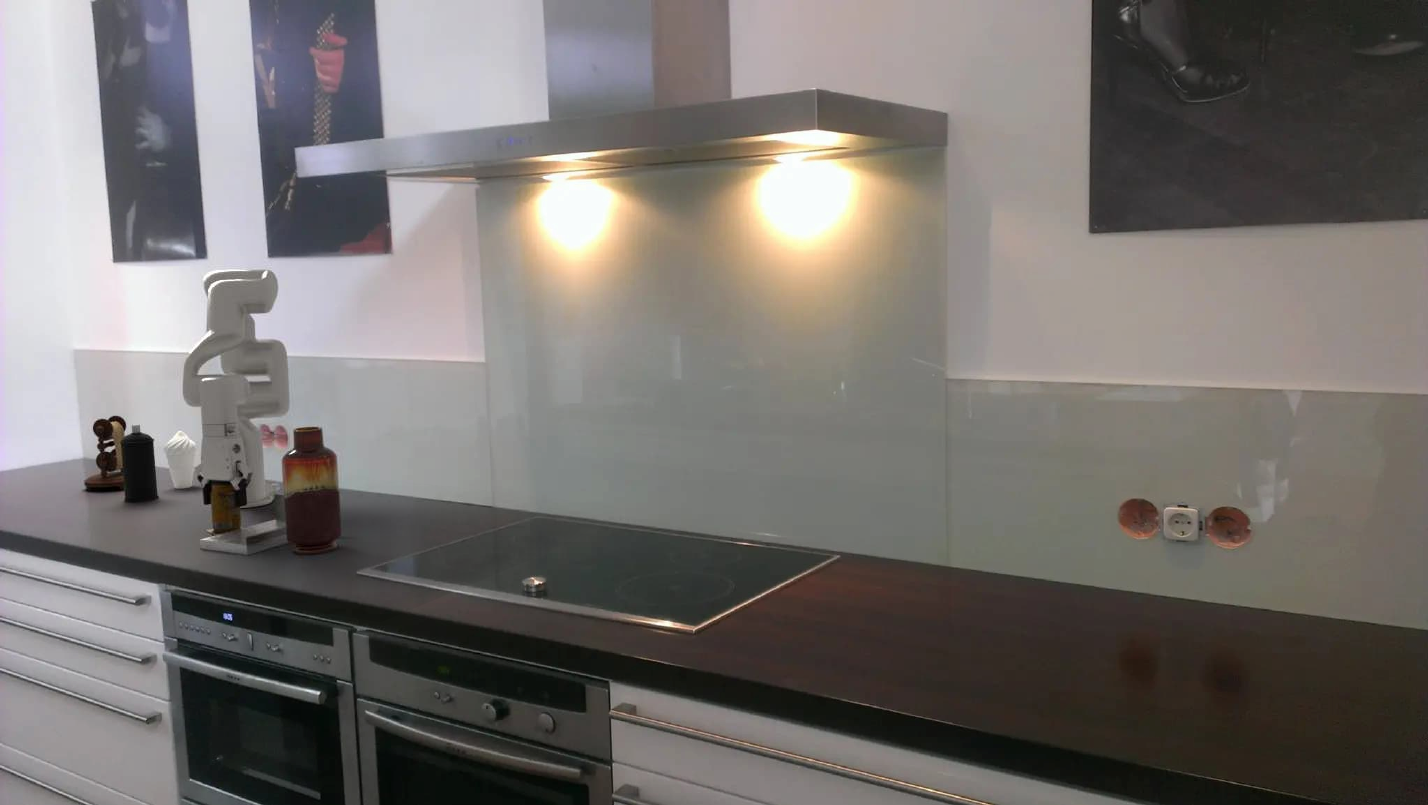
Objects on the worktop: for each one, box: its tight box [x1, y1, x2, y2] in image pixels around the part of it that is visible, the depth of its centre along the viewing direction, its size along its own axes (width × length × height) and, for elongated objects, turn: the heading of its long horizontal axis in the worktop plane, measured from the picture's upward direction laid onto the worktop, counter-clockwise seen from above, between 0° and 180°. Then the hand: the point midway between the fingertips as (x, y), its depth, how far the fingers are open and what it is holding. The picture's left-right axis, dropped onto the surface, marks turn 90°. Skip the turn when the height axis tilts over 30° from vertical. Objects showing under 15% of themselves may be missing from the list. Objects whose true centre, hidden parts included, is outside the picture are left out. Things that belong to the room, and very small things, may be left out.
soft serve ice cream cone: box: [163, 430, 198, 490], centre depth 305 cm, size 8×8×16 cm
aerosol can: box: [119, 423, 160, 503], centre depth 289 cm, size 8×8×20 cm
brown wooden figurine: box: [83, 415, 127, 491], centre depth 307 cm, size 15×15×20 cm
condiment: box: [206, 480, 243, 536], centre depth 251 cm, size 7×8×12 cm
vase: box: [281, 426, 342, 555], centre depth 232 cm, size 11×11×26 cm
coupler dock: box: [199, 492, 290, 556], centre depth 242 cm, size 22×14×8 cm, turn 155°
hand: (225, 505), depth 250 cm, fingers open, 9 cm apart
